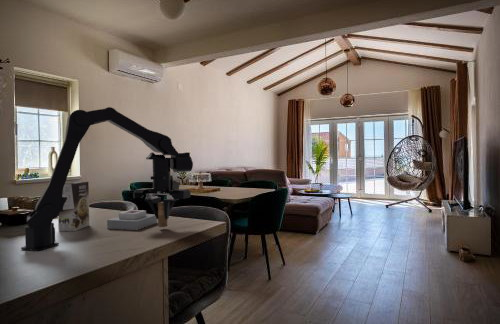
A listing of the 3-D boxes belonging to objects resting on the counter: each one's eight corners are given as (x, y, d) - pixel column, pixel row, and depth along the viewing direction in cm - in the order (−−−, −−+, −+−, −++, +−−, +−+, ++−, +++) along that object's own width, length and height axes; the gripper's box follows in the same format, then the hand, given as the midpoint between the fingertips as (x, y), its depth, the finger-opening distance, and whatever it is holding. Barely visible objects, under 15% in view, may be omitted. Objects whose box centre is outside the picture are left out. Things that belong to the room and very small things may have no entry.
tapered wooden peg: (164, 227, 108) (164, 203, 108) (156, 226, 109) (156, 203, 109) (169, 225, 111) (168, 202, 111) (161, 225, 112) (160, 201, 112)
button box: (137, 230, 109) (136, 215, 109) (107, 228, 113) (106, 214, 113) (157, 222, 121) (156, 209, 121) (129, 221, 124) (129, 208, 124)
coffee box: (76, 231, 110) (75, 183, 109) (57, 231, 110) (56, 183, 109) (90, 225, 119) (89, 181, 118) (73, 225, 119) (71, 181, 118)
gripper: (197, 171, 115) (198, 215, 115) (151, 171, 120) (152, 213, 120) (182, 173, 104) (183, 222, 104) (132, 173, 109) (133, 219, 109)
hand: (162, 219), depth 110 cm, fingers closed on tapered wooden peg, 3 cm apart
